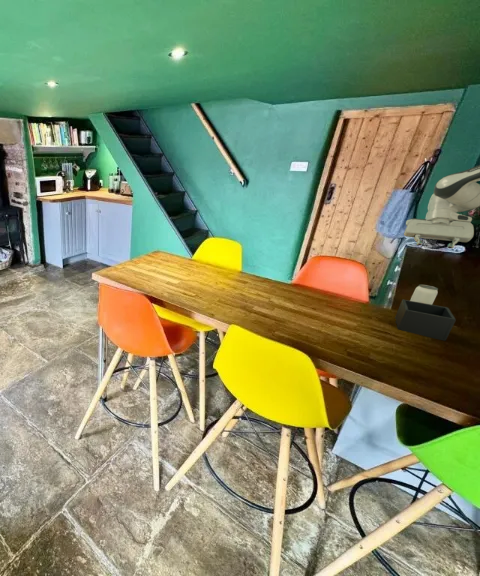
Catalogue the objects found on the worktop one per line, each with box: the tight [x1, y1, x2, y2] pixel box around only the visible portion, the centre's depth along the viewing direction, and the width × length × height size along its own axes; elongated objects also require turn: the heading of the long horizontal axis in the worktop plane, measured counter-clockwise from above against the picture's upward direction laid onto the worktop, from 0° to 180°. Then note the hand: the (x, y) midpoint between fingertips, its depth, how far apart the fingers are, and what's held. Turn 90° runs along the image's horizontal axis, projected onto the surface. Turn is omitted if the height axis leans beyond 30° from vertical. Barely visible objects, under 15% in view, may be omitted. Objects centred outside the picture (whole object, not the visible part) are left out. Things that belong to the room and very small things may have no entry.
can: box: [409, 284, 439, 305], centre depth 126 cm, size 6×6×12 cm
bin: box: [394, 299, 457, 342], centre depth 114 cm, size 13×13×9 cm
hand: (434, 246), depth 129 cm, fingers open, 8 cm apart
